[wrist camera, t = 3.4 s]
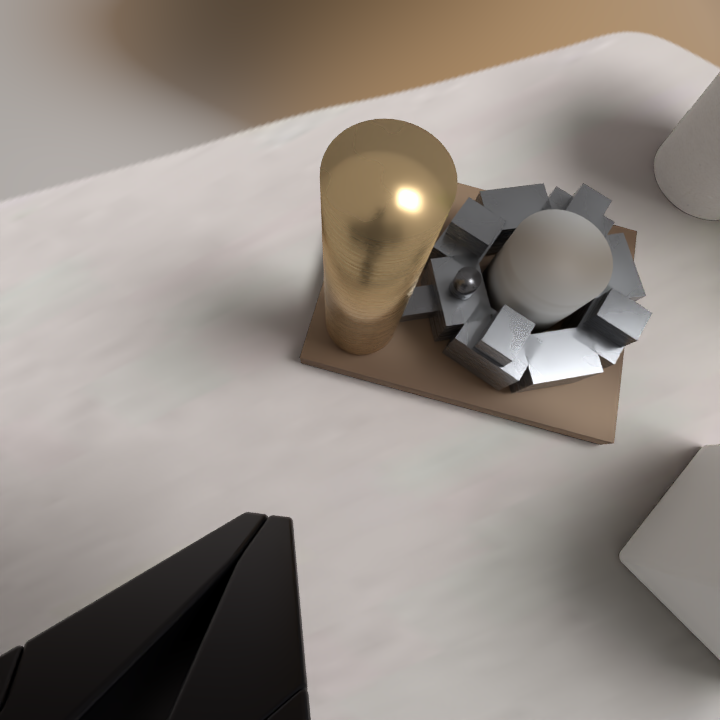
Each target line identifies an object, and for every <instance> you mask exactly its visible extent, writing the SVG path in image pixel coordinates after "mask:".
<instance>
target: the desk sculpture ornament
mask: <svg viewBox="0 0 720 720" xmlns="http://www.w3.org/2000/svg"><path fill="white" fill-rule="evenodd" d="M320 192H321V217H322V242H323V268H324V293H325V319H326V328H327V331H328V334H329V336H330V338H331V339H332V341H333V342H334V343H335V344H336V345H337V346H338V347H339V348H341V349H342V350H344V351H346V352H349V353H352V354H357V355H367V354H372V353H375V352H377V351H379V350H381V349H382V348H384V347H385V346H386V345H387V344H388V343H389V341H390V340H391V338H392V337H393V335H394V332H395V330H396V328H397V326H398V324H399V322H405V321H412V320H418V319H425V318H429V321H430V326H431V330H432V334H433V339H434V342H436V341H442V340H449V339H450V341H449V342H448V344H447V345H446V347H445V348H444V350H443V351H442V353H443V354H445V355H446V356H448V357H449V358H451V359H452V360H453V361H455V362H456V363H458V364H459V365H461V366H462V367H464V368H465V369H467V370H468V371H470V372H471V373H473V374H474V375H476V376H477V377H479V378H480V379H482V380H483V381H485V382H486V383H488V384H489V385H491V386H492V387H494V388H495V389H496V390H498V391H499V390H501V389H503V388H505V387H507V386H509V387H510V391H511V394H512V393H518V392H524V391H530V390H535V389H541V388H547V387H553V386H559V385H564V384H570V383H575V382H578V381H580V380H583V379H586V378H589V377H591V376H594V375H597V374H600V373H602V372H604V371H603V369H604V368H606V367H609V366H612V365H614V364H615V363H616V361H617V359H618V357H619V355H620V353H621V352H622V350H623V348H624V346H626V345H628V344H630V343H633V342H635V341H637V340H638V338H639V337H640V335H641V333H642V331H643V329H644V327H645V325H646V324H647V322H648V320H649V318H650V316H651V314H652V313H651V312H650V311H648V310H647V309H645V308H644V307H642V306H641V305H639V304H638V303H636V302H635V301H637V300H639V299H640V298H642V297H644V296H646V295H645V292H644V289H643V286H642V283H641V281H640V278H639V275H638V272H637V269H636V267H635V264H634V261H633V258H632V255H631V253H630V250H629V247H628V244H627V241H626V239H625V236H624V233H617V234H610V235H607V234H608V233H609V231H610V229H611V228H612V226H613V224H614V223H615V222H613V221H612V220H610V219H609V218H607V217H605V216H604V213H605V211H606V210H607V208H608V206H609V205H610V203H611V202H612V200H610V199H608V198H607V197H605V196H604V195H602V194H600V193H599V192H597V191H595V190H594V189H592V188H590V187H589V186H587V185H586V184H584V183H583V184H582V185H581V186H580V188H579V189H578V190H577V191H576V192H575V193H574V194H573V196H571V195H570V194H568V193H566V192H565V191H563V190H561V189H560V188H558V187H557V186H556V188H555V189H554V190H553V191H552V193H551V194H550V195H549V197H548V196H547V193H546V189H545V186H544V183H543V184H535V185H527V186H518V187H510V188H502V189H494V190H486V191H480V192H479V194H478V196H477V198H476V199H475V200H473V199H471V198H470V197H469V198H468V199H467V200H466V202H465V203H464V204H463V206H462V207H461V208H460V210H459V211H458V213H457V214H456V215H455V217H454V218H453V219H452V221H451V223H450V224H449V225H448V227H447V228H446V230H445V231H444V232H443V234H442V235H441V236H440V238H439V239H438V241H437V242H436V240H437V237H438V235H439V233H440V231H441V229H442V226H443V224H444V222H445V220H446V218H447V215H448V213H449V211H450V209H451V207H452V204H453V202H454V200H455V196H456V192H457V173H456V168H455V165H454V162H453V160H452V158H451V156H450V154H449V153H448V151H447V150H446V148H445V147H444V146H443V145H442V143H441V142H440V141H439V140H438V139H436V138H435V137H434V136H433V135H432V134H430V133H429V132H427V131H426V130H424V129H422V128H420V127H419V126H416V125H414V124H411V123H408V122H405V121H401V120H395V119H374V120H368V121H364V122H361V123H358V124H356V125H353V126H351V127H349V128H348V129H346V130H344V131H343V132H342V133H340V134H339V135H338V136H337V137H336V138H335V139H334V140H333V141H332V142H331V144H330V145H329V146H328V148H327V150H326V152H325V154H324V156H323V159H322V162H321V167H320ZM549 209H558V210H565V211H569V212H572V213H575V214H578V215H580V216H582V217H584V218H585V219H587V220H588V221H590V222H591V223H592V224H593V225H595V226H596V227H597V228H598V229H599V231H600V232H601V233H602V234H603V236H604V237H605V239H606V240H607V242H608V244H609V247H610V250H611V253H612V257H613V271H612V276H611V278H610V281H609V283H608V285H607V287H606V288H605V289H604V291H603V292H602V293H601V294H599V295H598V296H597V297H595V298H594V299H593V300H591V301H590V302H588V303H586V304H585V305H583V306H582V307H580V308H579V309H577V310H576V311H574V312H573V313H571V314H570V315H568V316H567V317H566V319H565V321H564V322H563V324H562V326H561V327H560V329H559V330H557V331H550V332H544V333H538V334H531V331H532V330H533V328H534V326H535V325H536V324H535V323H533V322H532V321H530V320H528V319H527V318H525V317H524V316H522V315H521V314H519V313H518V312H516V311H515V310H513V309H512V308H510V307H509V306H507V305H505V304H504V305H503V306H502V307H501V308H500V309H499V310H498V311H495V310H494V309H492V308H491V307H490V303H489V299H488V296H487V292H486V288H485V284H484V281H483V277H482V273H481V269H480V265H479V263H480V261H481V260H482V258H483V257H484V256H485V254H491V253H498V252H499V250H500V249H501V248H502V246H503V245H504V244H505V243H506V241H507V240H508V239H509V237H510V236H511V235H512V233H513V232H514V231H515V229H516V228H517V227H518V225H519V224H520V223H521V222H522V221H523V220H524V219H526V218H527V217H528V216H530V215H532V214H534V213H536V212H539V211H543V210H549ZM435 242H436V243H435ZM434 244H435V245H434ZM423 270H424V271H425V272H424V274H423V276H422V279H421V281H420V282H421V286H419V287H415V286H416V284H417V282H418V279H419V277H420V275H421V273H422V271H423Z"/></svg>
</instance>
